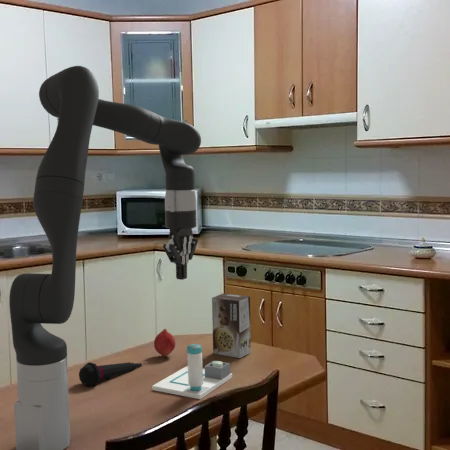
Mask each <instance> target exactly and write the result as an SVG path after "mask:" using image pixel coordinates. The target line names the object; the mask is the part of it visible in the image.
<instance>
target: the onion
mask: <svg viewBox="0 0 450 450" xmlns="http://www.w3.org/2000/svg"><path fill="white" fill-rule="evenodd" d="M175 339H176V338H175V337H174V336H173V334H172V333H170V332H169V331H168V329H167V328H165V327H164V328H163V330H162V331H160V332H159V333H158V334H157V335H156V336H155V338H154V340H153V341H154V342H153V347H154V350H155V351H156V352H157V353H158V354H160V355H161V356H162V357H164V358H166V357H168V356H169V355H170V354H171V353H172V352H173V351H174V350H175V348H176V340H175Z"/></svg>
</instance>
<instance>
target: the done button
mask: <svg viewBox="0 0 450 450" xmlns="http://www.w3.org/2000/svg"><path fill="white" fill-rule="evenodd" d="M213 361H214V362H212V361H211V362H212V366H214V367H222V366H223V361H220V360H213Z"/></svg>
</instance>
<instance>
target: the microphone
mask: <svg viewBox="0 0 450 450" xmlns="http://www.w3.org/2000/svg"><path fill="white" fill-rule="evenodd" d="M142 366H143V363H142V362H141V363H139V362H137V363H136V362H135V363H134V362H122V363H121V362H120V363H111V364H102V365H97V364H96V363H93V362H91V361H90V362H87V363H86V364H84V365H83V366H82V367H80V368H79V369H80V370H79V372H78V378H79V380H80V383H81V384H82V385H86V386H90V387H94V386H96V385H98V384H99V382H100V381H103V380H105V379H107V380H108V379H112V378H114V377H115V376H120V375H123V374H126V373H129V372H132V371H134V370H135V369H138V368H140V367H142Z"/></svg>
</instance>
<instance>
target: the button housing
mask: <svg viewBox="0 0 450 450" xmlns="http://www.w3.org/2000/svg"><path fill="white" fill-rule="evenodd" d="M214 361H215V360H212V361H210V362H209V363H207V364H206V365H204V369H205V377H207V378H213V379H218V380H222V379H224V378H225V377H227V376H228V375H230V373H231V363H230V362H225V361H224V362H223V361H222V362H223V366H222V367H214V366H212V362H214Z"/></svg>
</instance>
